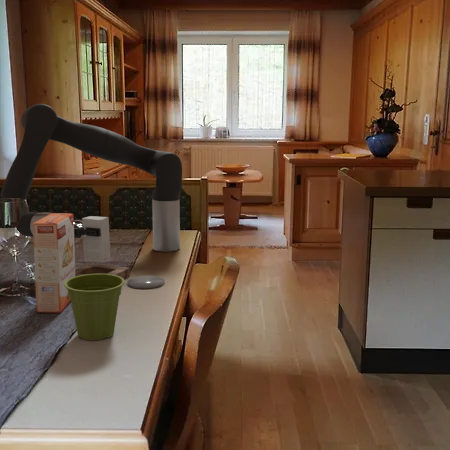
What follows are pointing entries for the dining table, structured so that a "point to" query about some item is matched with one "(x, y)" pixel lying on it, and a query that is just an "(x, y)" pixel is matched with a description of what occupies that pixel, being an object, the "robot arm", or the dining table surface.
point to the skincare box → (97, 240)
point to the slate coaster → (145, 282)
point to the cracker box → (53, 260)
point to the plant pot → (95, 303)
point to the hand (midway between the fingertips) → (104, 230)
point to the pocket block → (103, 270)
